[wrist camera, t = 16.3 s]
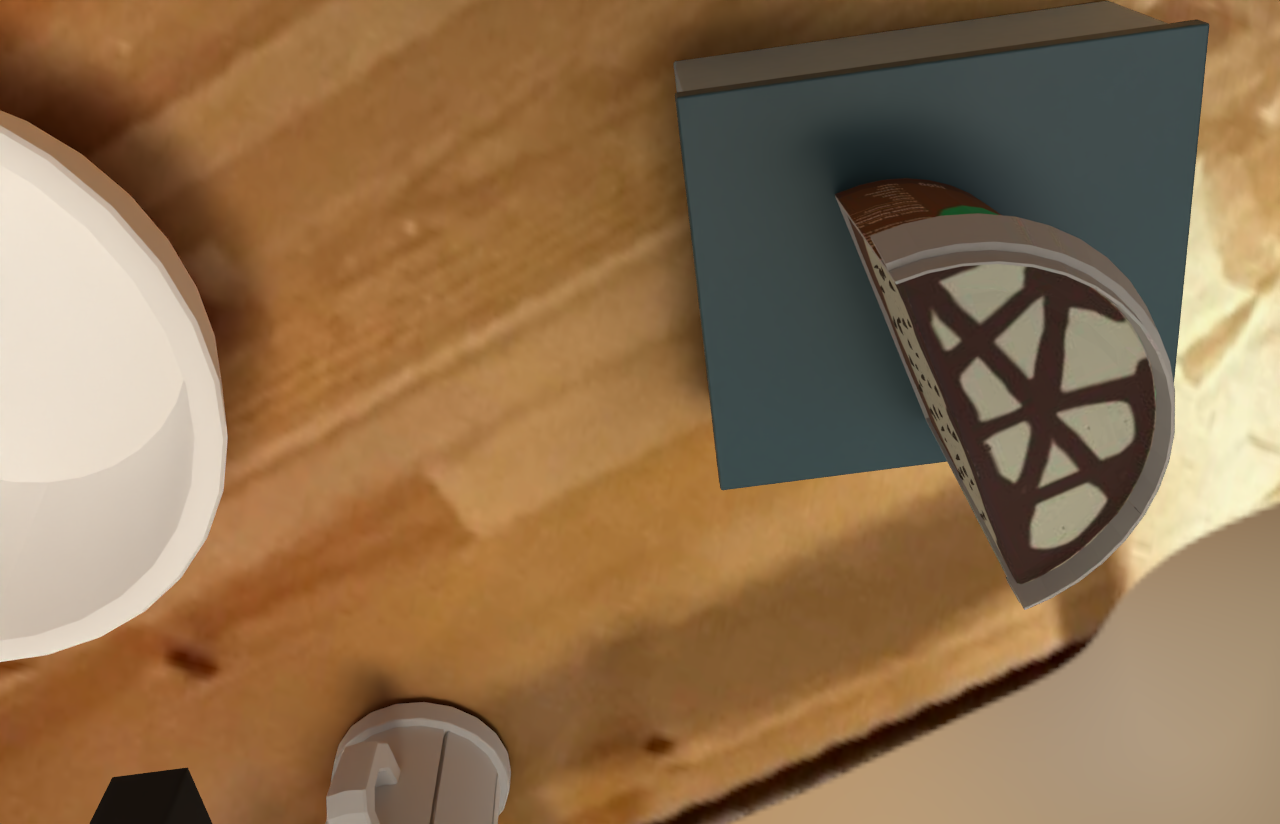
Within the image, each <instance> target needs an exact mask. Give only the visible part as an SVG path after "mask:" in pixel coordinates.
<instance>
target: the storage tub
mask: <svg viewBox="0 0 1280 824" xmlns="http://www.w3.org/2000/svg"><path fill="white" fill-rule="evenodd" d="M1208 33H1209V24H1208V23H1206V22H1203V21H1200V20H1191V21H1184V22H1177V23H1170V24H1168V23H1165V22H1162V21H1160V20H1157V19H1155V18H1152V17H1149V16H1147V15H1144V14H1141V13H1139V12H1136V11H1133V10H1131V9H1128V8H1125V7H1123V6H1120V5H1117V4H1115V3H1112V2H1109V1H1101V2H1094V3H1087V4H1080V5H1073V6H1066V7H1059V8H1052V9H1045V10H1037V11H1030V12H1023V13H1016V14H1009V15H1002V16H995V17H988V18H981V19H973V20H966V21H959V22H952V23H945V24H938V25H931V26H924V27H916V28H909V29H902V30H895V31H888V32H881V33H874V34H867V35H860V36H852V37H845V38H838V39H831V40H824V41H817V42H810V43H803V44H796V45H788V46H781V47H774V48H767V49H760V50H753V51H746V52H739V53H731V54H724V55H717V56H710V57H703V58H696V59H689V60H682V61H675V62H674V72H675V81H676V89H677V93H675V102H676V110H677V119H678V128H679V136H680V145H681V154H682V163H683V171H684V180H685V189H686V197H687V206H688V215H689V223H690V232H691V241H692V250H693V258H694V267H695V276H696V284H697V293H698V302H699V310H700V319H701V328H702V336H703V345H704V354H705V363H706V371H707V380H708V389H709V397H710V406H711V415H712V423H713V432H714V441H715V450H716V458H717V467H718V476H719V483H720V488H721V490H728V489H735V488H743V487H751V486H759V485H767V484H775V483H782V482H790V481H798V480H806V479H814V478H821V477H829V476H837V475H845V474H853V473H860V472H868V471H876V470H884V469H892V468H900V467H907V466H915V465H923V464H931V463H939V462H946V461H947V460H946V458H945V456H944V454H943V452H942V450H941V448H940V446H939V444H938V442H937V440H936V438H935V436H934V435H933V433H932V431H931V429H930V427H929V425H928V423H927V421H926V419H925V416H924V414H923V411H922V409H921V406H920V404H919V402H918V399H917V397H916V394H915V392H914V389H913V387H912V384H911V382H910V379H909V377H908V374H907V372H906V370H905V367H904V365H903V362H902V360H901V357H900V355H899V352H898V350H897V347H896V345H895V342H894V340H893V338H892V335H891V333H890V330H889V328H888V325H887V323H886V320H885V318H884V315H883V313H882V310H881V308H880V306H879V303H878V301H877V298H876V296H875V293H874V291H873V288H872V286H871V283H870V281H869V278H868V276H867V274H866V271H865V269H864V266H863V264H862V261H861V259H860V256H859V254H858V251H857V249H856V246H855V244H854V241H853V239H852V237H851V234H850V232H849V229H848V227H847V224H846V222H845V219H844V217H843V214H842V212H841V209H840V207H839V205H838V202H837V200H836V197H835V195H834V194H837V193H840V192H842V191H845V190H847V189H850V188H853V187H855V186H858V185H862V184H866V183H871V182H875V181H879V180H887V179H901V178H911V179H924V180H931V181H935V182H940V183H944V184H948V185H951V186H954V187H956V188H958V189H961V190H963V191H965V192H968V193H970V194H971V195H973V196H974V197H976V198H977V199H979V200H981V201H982V202H984V203H985V204H987V205H988V206H990V207H991V208H992V209H994V210H995V211H997V212H998V213H1000V214H1001V215H1003V216H1014V217H1019V218H1023V219H1027V220H1031V221H1034V222H1038V223H1042V224H1046V225H1050V226H1052V227H1054V228H1057V229H1059V230H1061V231H1063V232H1066V233H1068V234H1070V235H1072V236H1074V237H1077V238H1079V239H1081V240H1082V241H1084V242H1085V243H1087V244H1088V245H1090V246H1091V247H1093V248H1094V249H1095V250H1097V251H1098V252H1100V253H1101V254H1103V255H1104V256H1106V257H1107V258H1108V259H1109V260H1110V261H1111V262H1112V263H1113V264H1114V265H1115V266H1116V267H1117V268H1118V269H1119V270H1120V271H1121V272H1122V273H1123V274H1124V275H1125V276H1126V277H1127V278H1128V279H1129V280H1130V282H1131V283H1132V285H1133V286H1134V288H1135V289H1136V291H1137V292H1138V294H1139V295H1140V297H1141V298H1142V300H1143V301H1144V303H1145V305H1146V306H1147V308H1148V310H1149V313H1150V315H1151V317H1152V319H1153V321H1154V324H1155V326H1156V328H1157V330H1158V332H1159V335H1160V337H1161V340H1162V343H1163V345H1164V348H1165V350H1166V353H1167V355H1168V358H1169V361H1170V365H1171V371H1172V377H1173V382H1174V376H1175V366H1176V356H1177V346H1178V336H1179V325H1180V315H1181V305H1182V295H1183V285H1184V275H1185V265H1186V255H1187V245H1188V235H1189V225H1190V214H1191V204H1192V194H1193V184H1194V174H1195V164H1196V154H1197V144H1198V134H1199V124H1200V114H1201V103H1202V93H1203V83H1204V73H1205V63H1206V53H1207V43H1208Z"/></svg>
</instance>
